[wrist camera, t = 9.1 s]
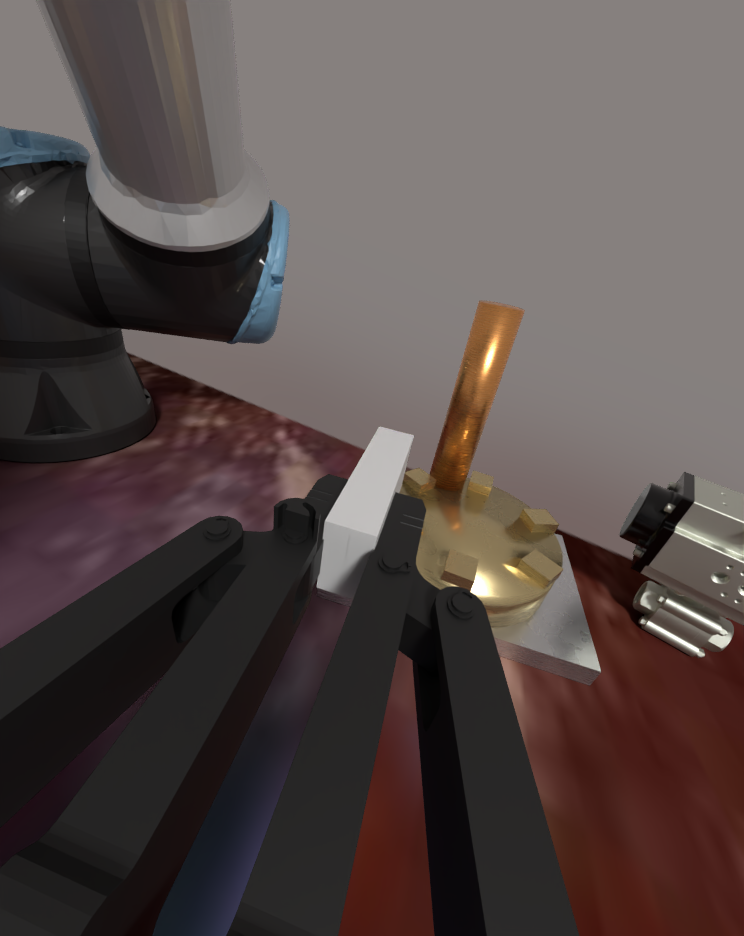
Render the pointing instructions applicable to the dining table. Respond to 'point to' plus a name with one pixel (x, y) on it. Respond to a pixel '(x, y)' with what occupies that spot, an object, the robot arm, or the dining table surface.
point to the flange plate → (545, 631)
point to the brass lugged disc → (482, 494)
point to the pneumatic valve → (689, 562)
